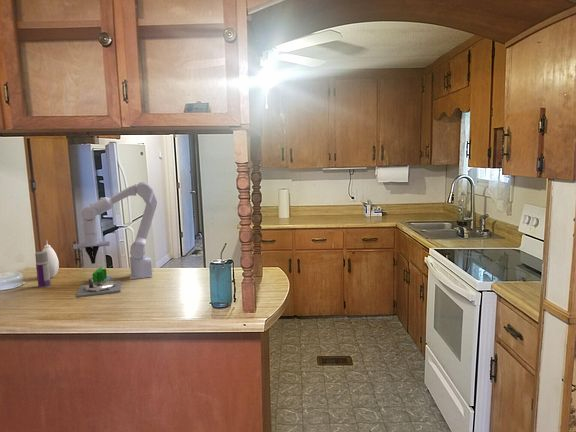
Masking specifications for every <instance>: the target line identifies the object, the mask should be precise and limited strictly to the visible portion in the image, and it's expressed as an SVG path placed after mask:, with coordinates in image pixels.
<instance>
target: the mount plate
mask: <svg viewBox="0 0 576 432" xmlns="http://www.w3.org/2000/svg"><path fill="white" fill-rule="evenodd" d="M112 281H113V282H114V283H116V286H114V287H112V288H111V289H107V290H102V291H99V292H96V291H88V292H87V291H86V289H83V286H86V285H88V284H89V283H88V284H80V286H79V289H78V291H77V294H76V298H83V297H84V298H85V297H91V296H92V297H93V296H99V295H101V296H102V295H108V294H115V293H117V294H118V293H121V292H122V291H121V287H122V286H121V285H122V281H121V280H115V281H114V280H112Z"/></svg>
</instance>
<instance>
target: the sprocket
mask: <svg viewBox="0 0 576 432" xmlns="http://www.w3.org/2000/svg"><path fill="white" fill-rule="evenodd" d="M113 281H114V280H111V281H100V282H94V283H93V278H89V279H88V285H87V284H85V285H86V286H83V289H86V291H87V292H88V291H96V292H99V291H102V290H107V289H111V288H112V287H114V286H116V283H114V282H113Z"/></svg>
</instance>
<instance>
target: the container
mask: <svg viewBox="0 0 576 432" xmlns="http://www.w3.org/2000/svg"><path fill="white" fill-rule="evenodd" d="M34 254H35V266H36V277H37V284H38V285H37V286H38V288H41V289H43V288H48V287H51V285H52V284H51V283H52V282H51V278H50V272H49V262H48V255H47V252H46V251H44V252H42V251H37V252H35V253H34Z"/></svg>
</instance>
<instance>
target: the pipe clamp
mask: <svg viewBox="0 0 576 432" xmlns="http://www.w3.org/2000/svg"><path fill="white" fill-rule="evenodd" d="M107 276H108V275H107V268H103V267H98V268H97V269H96V270H95V271H94V272H93V273H92V279H93V283H94V282H100V281H104V279H107Z"/></svg>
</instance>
